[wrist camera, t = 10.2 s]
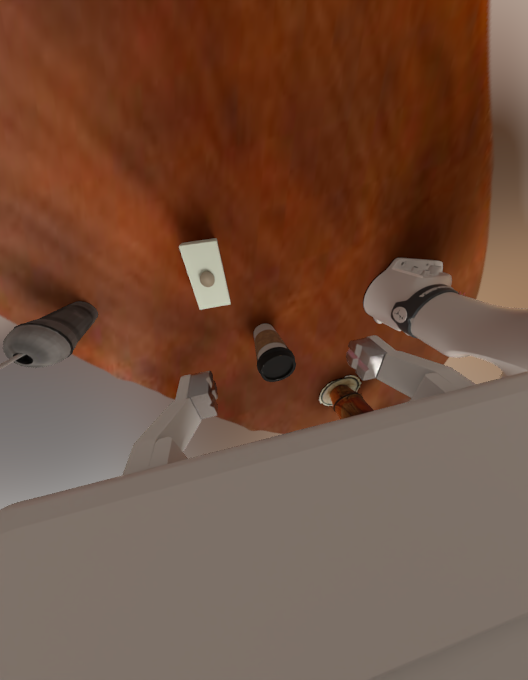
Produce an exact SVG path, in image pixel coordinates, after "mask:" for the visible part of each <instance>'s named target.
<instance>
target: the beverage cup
mask: <svg viewBox="0 0 528 680" xmlns="http://www.w3.org/2000/svg"><path fill="white" fill-rule="evenodd" d="M97 317H98V312H97V310H96V309H95V308H94V307H93V306H92V305H90V304H89V303H86V302H81V301H79V302H75V303H73V304H69V305H67V306H65V307H63V308H61V309H59V310H57V311H54V312H52V313H50V314H48V315H46V316H44V317H42V318H40V319H37V320H33V321H30V322H27V323H24V324H20V325H18V326H16V327H14V329H13V330H12V331H11V332H10V333H9V334H8V335H7V336H6V338H5V339H4V341H3V350H4V353H5V355H6V356H7V357H8V358H9V360H7V361H5V362H3V363H1V364H0V369H2V368H4V367H5V366H7V365H9V364H10V363H12V362H14V363H16V364H19V365H21V366H26V367H35V368H37V367H47V366H51V365H54V364H56V363H58V362H61V361H62V360H64V359H65V358H67V357H69V356H70V355H71V354H72V352H73V350H74V348H75V347H76V344H77V342H78V341H79V340H80V339H81V338H82V336H83V335H84V334H85V333H86V331H87V330H88V329H89V328H90V326H91V325H92V324H93V323H94V322H95V320H96V318H97Z"/></svg>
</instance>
